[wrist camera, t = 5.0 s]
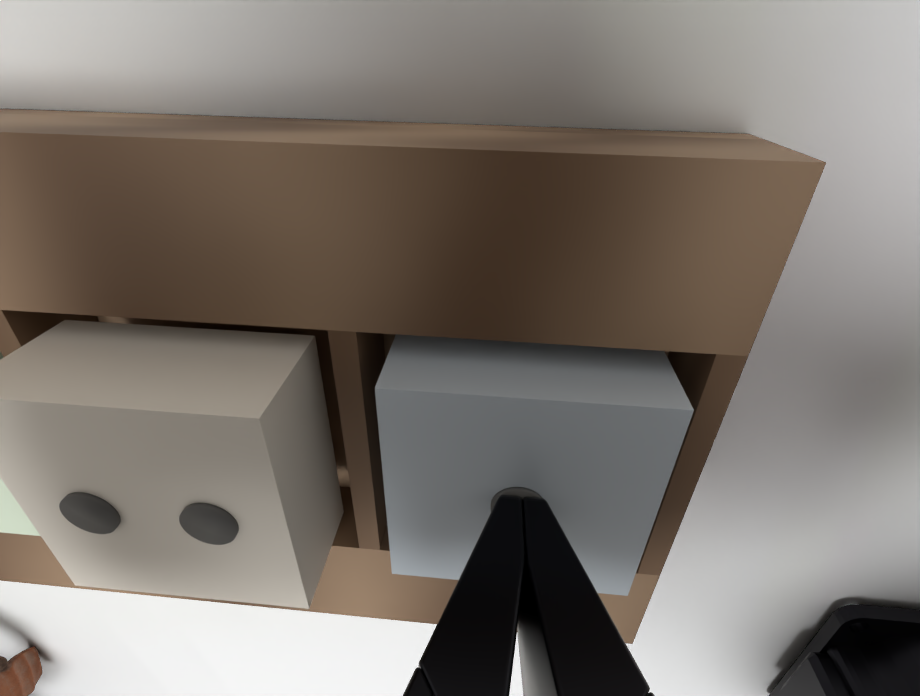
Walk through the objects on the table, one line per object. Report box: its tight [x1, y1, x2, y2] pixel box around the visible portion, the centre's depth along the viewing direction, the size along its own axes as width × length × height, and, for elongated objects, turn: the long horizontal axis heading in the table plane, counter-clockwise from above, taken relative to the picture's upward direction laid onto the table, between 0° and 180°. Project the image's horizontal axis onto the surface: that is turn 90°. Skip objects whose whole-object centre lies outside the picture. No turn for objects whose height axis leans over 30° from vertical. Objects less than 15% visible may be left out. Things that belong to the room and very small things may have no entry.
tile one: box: [375, 334, 694, 596], centre depth 10 cm, size 5×5×2 cm
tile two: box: [0, 320, 344, 609], centre depth 10 cm, size 5×5×2 cm
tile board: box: [0, 109, 826, 644], centre depth 11 cm, size 20×12×2 cm, turn 89°
